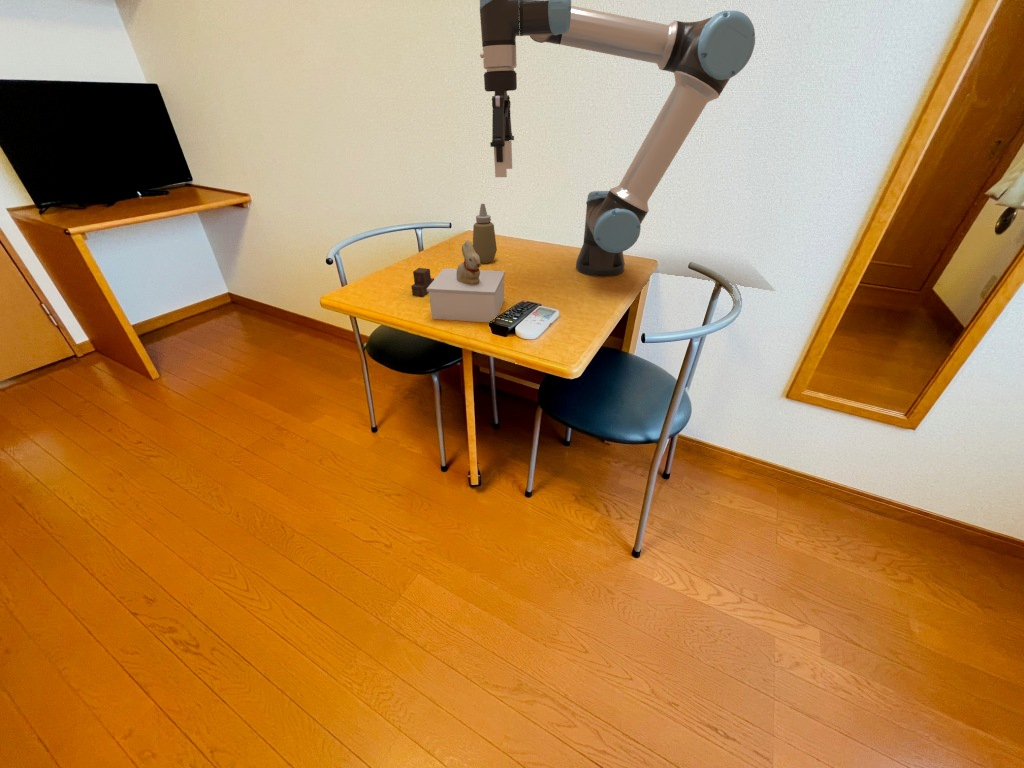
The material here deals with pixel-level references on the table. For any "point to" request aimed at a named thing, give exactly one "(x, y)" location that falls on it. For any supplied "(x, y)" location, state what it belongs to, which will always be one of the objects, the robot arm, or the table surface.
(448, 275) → the storage box
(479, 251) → the squeeze bottle
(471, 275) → the chocolate bunny
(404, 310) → the table surface
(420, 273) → the stack of crates
